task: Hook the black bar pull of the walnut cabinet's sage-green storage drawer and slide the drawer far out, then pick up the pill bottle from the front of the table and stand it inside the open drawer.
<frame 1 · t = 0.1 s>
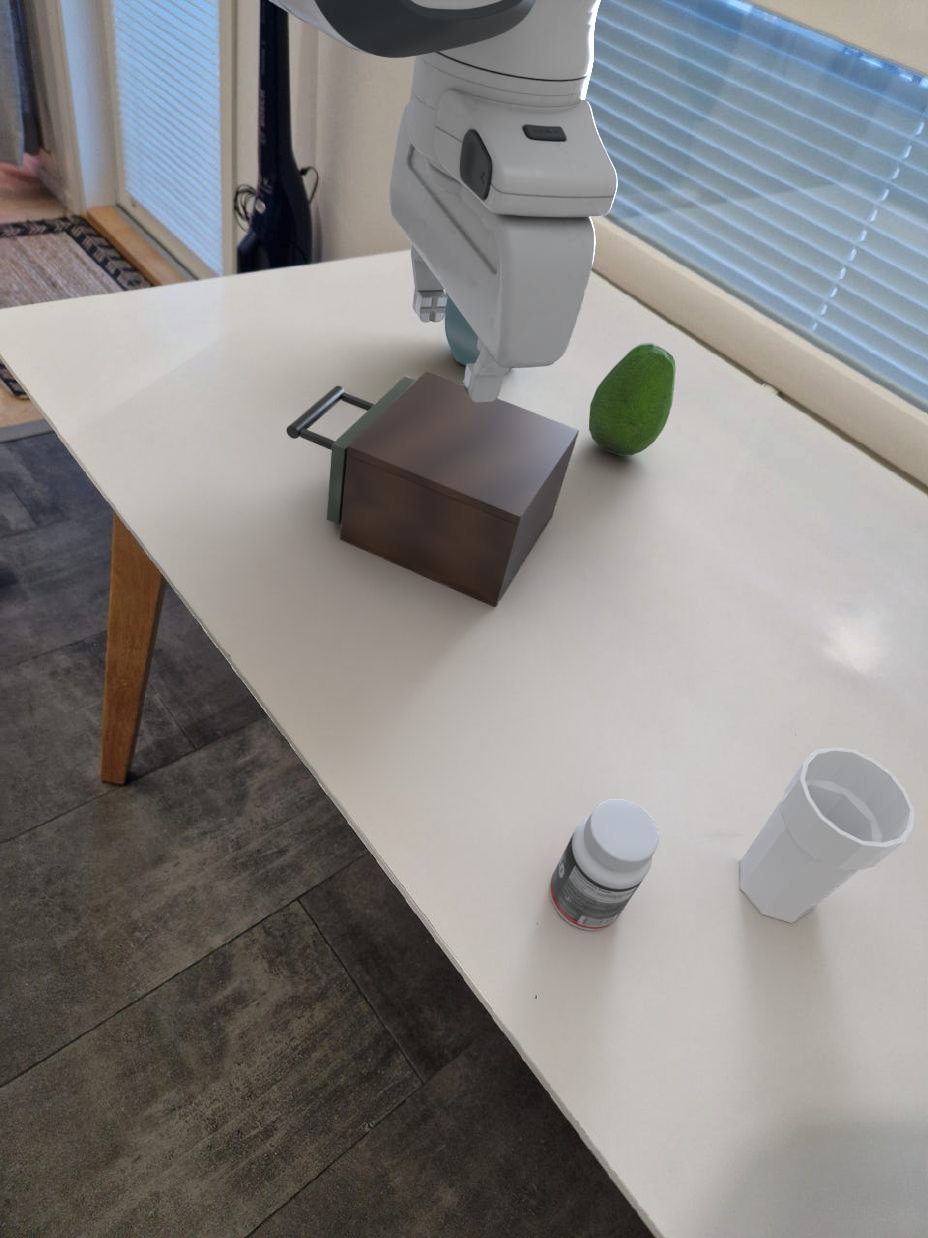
hand: (452, 354, 55), 22 cm above the table, tool pointing down, fingers open, 8 cm apart
cup: (774, 886, 57), on the table
pill bottle: (584, 897, 55), on the table
drawer: (406, 462, 74), point 5 cm above the table, slide at 0.5 cm
flower pot: (485, 365, 98), on the table
cabinet: (450, 527, 77), on the table
avocado: (615, 449, 91), on the table
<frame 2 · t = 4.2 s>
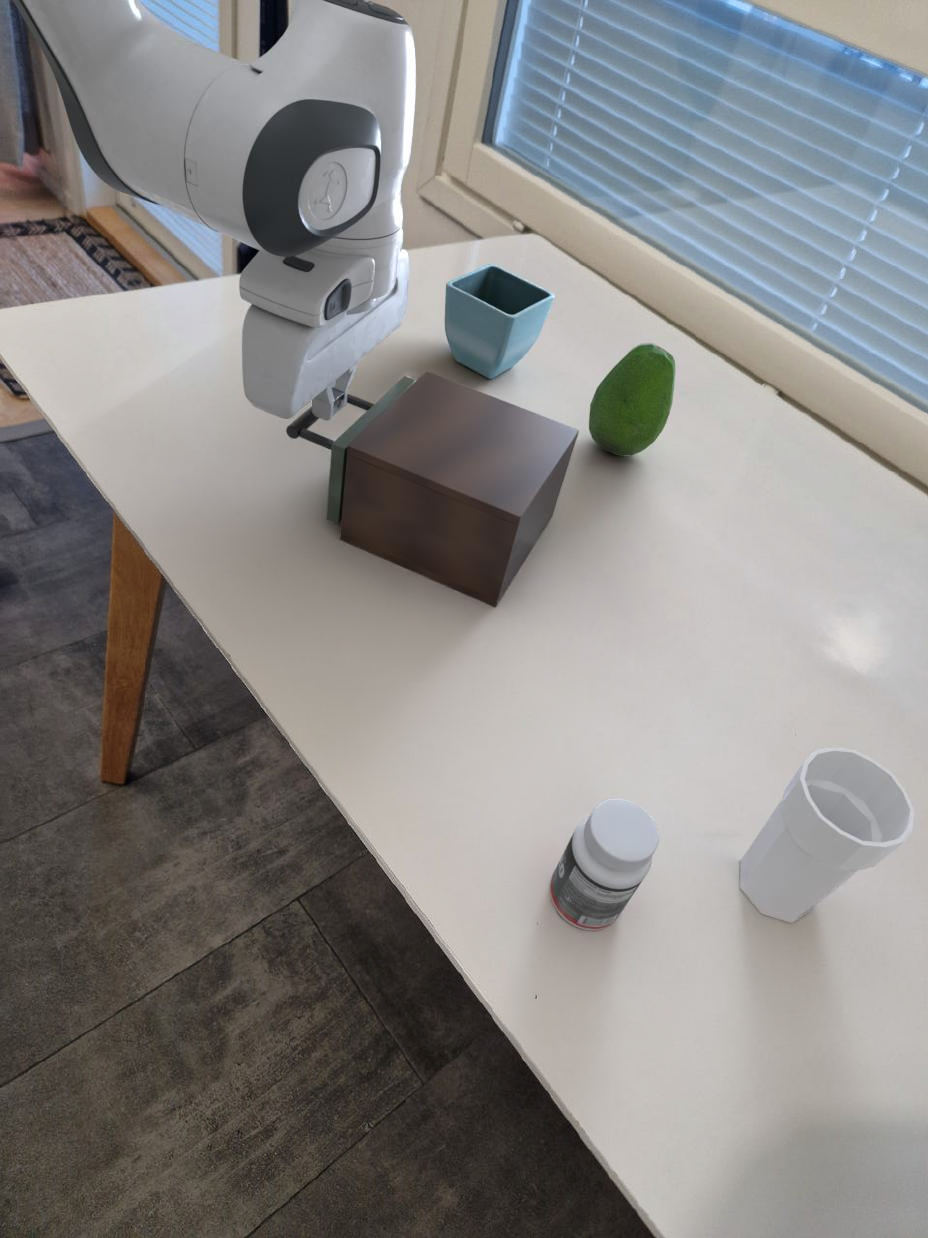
hand: (329, 410, 74), 7 cm above the table, tool pointing down, fingers closed, pressing on drawer
drawer: (406, 462, 74), point 5 cm above the table, slide at 0.5 cm, touching gripper
everything else where it was.
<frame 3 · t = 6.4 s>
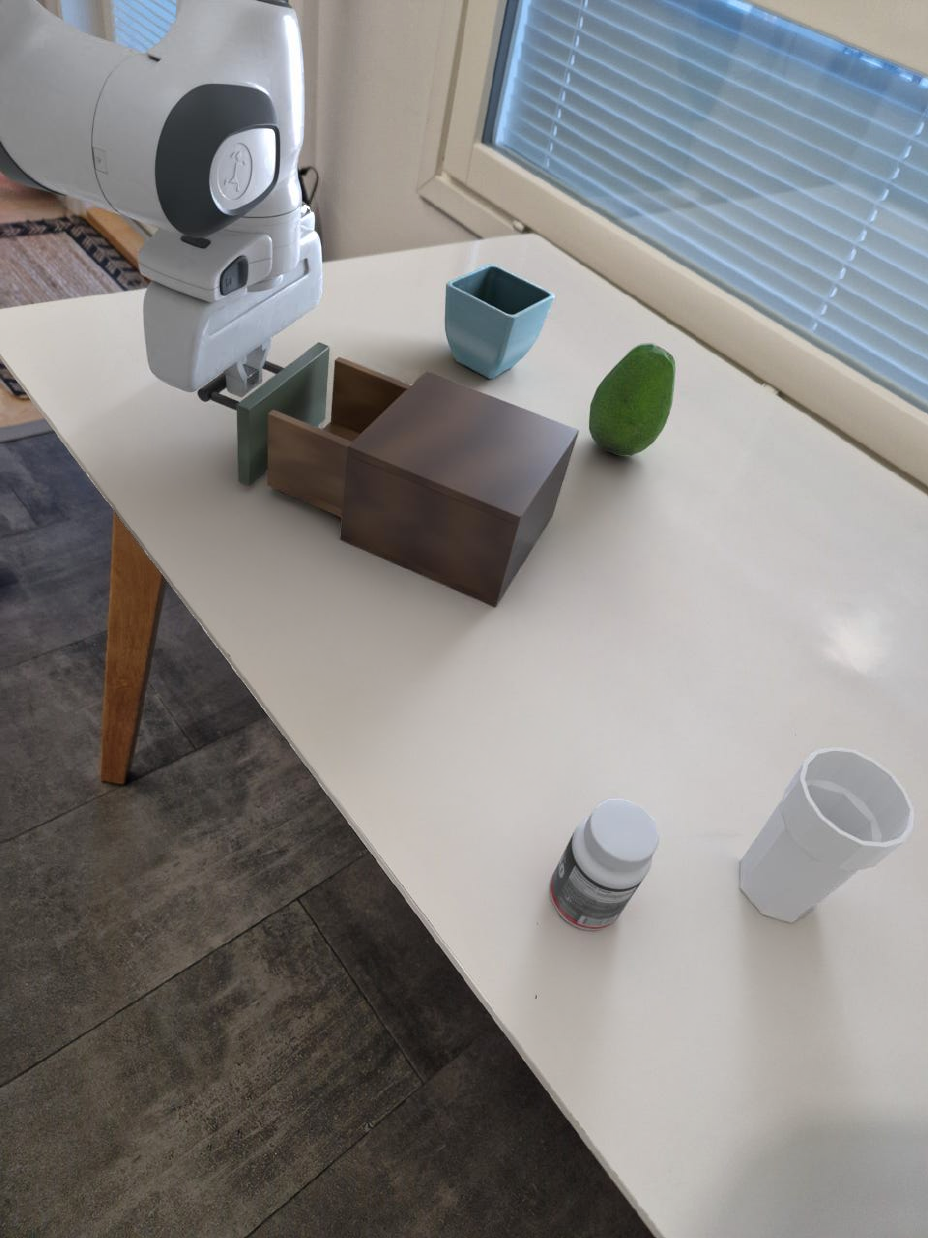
hand: (244, 388, 77), 6 cm above the table, tool pointing down, fingers closed, pressing on drawer
drawer: (317, 426, 76), point 5 cm above the table, slide at 9.3 cm, touching gripper
everything else where it was.
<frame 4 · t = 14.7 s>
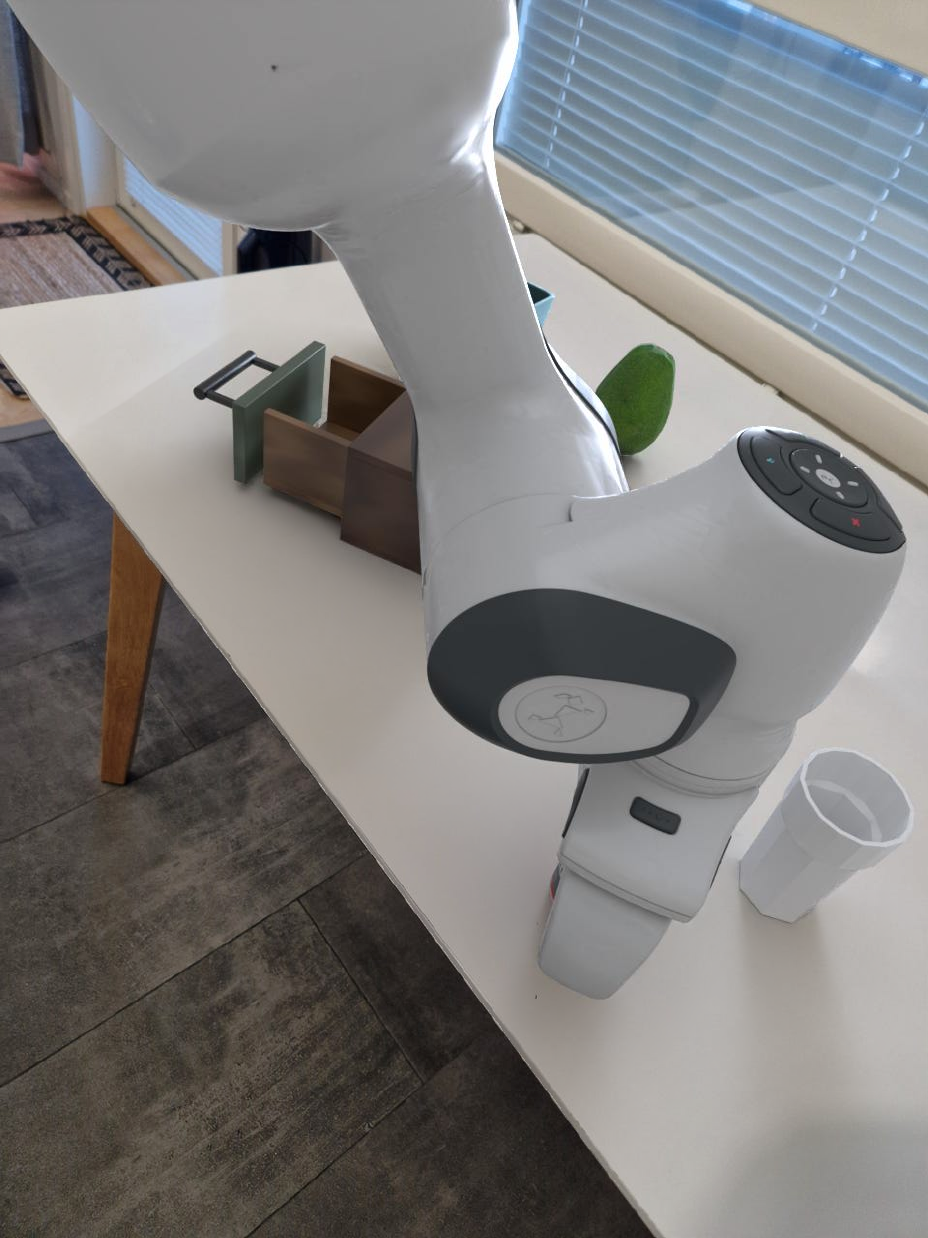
hand: (598, 872, 52), 3 cm above the table, tool pointing down, fingers closed on pill bottle, 5 cm apart
pill bottle: (584, 897, 55), on the table, touching gripper
drawer: (313, 424, 76), point 5 cm above the table, slide at 9.7 cm
everything else where it was.
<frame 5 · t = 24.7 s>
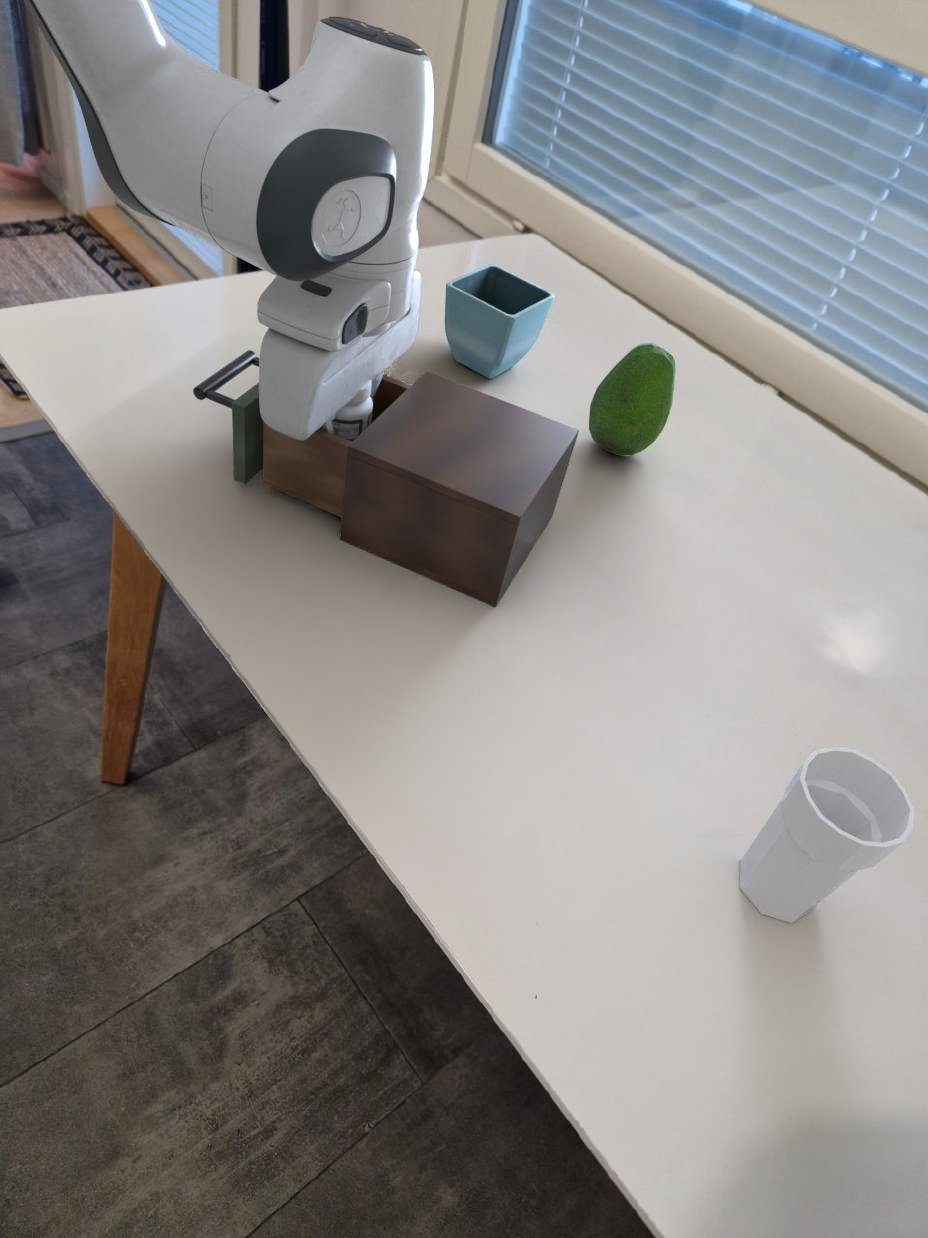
hand: (341, 430, 75), 5 cm above the table, tool pointing down, fingers closed on pill bottle, 5 cm apart
pill bottle: (339, 461, 77), point 2 cm above the table, touching gripper
everything else where it was.
when the fingers open (7 cm above the table, at t = 30.6 s): pill bottle stays where it is, resting on drawer.
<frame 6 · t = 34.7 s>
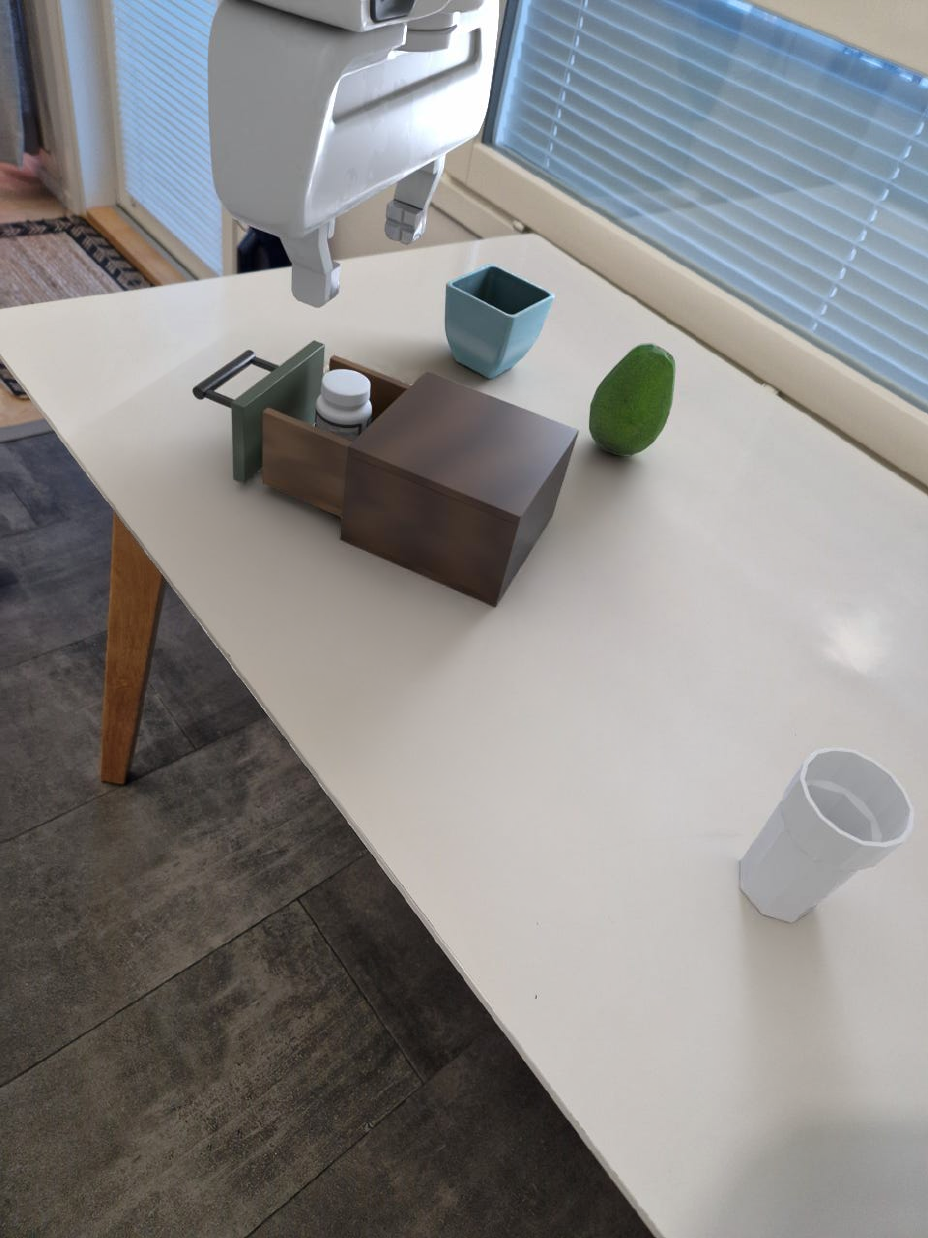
hand: (362, 266, 45), 29 cm above the table, tool pointing down, fingers open, 8 cm apart
pill bottle: (339, 465, 78), point 2 cm above the table, touching drawer
drawer: (312, 424, 76), point 5 cm above the table, slide at 9.8 cm, touching pill bottle
everything else where it was.
at the end: drawer slide at 9.8 cm; pill bottle inside the target area in the drawer (0.4 cm from its centre), point 1.8 cm above the cabinet's base; pill bottle tilted 0° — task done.
